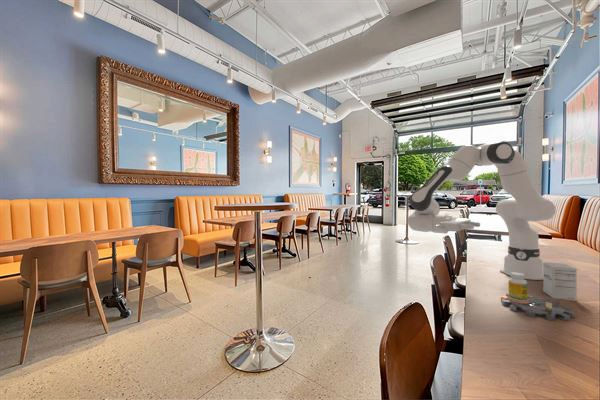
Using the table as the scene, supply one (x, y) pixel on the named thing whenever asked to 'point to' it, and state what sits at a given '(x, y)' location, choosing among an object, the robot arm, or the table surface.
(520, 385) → the table surface
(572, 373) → the table surface
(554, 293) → the supplement box
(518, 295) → the supplement bottle
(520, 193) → the robot arm
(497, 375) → the table surface
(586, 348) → the table surface
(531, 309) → the sprocket wheel
